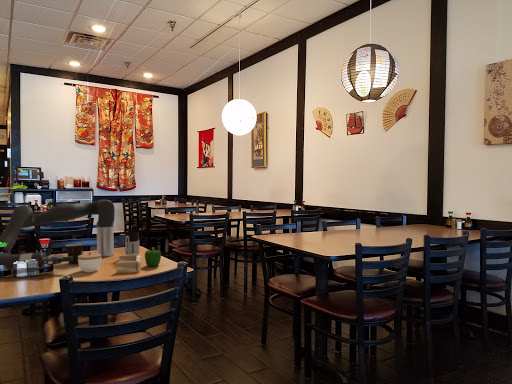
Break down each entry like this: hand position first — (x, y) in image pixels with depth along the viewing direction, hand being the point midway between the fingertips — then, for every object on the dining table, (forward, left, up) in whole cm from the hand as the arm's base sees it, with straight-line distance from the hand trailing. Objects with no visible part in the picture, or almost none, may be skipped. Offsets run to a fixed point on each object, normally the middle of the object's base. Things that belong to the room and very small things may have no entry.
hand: (72, 258), depth 184 cm
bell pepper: (-3, +38, -7) cm, 39 cm away
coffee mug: (-20, -3, -7) cm, 22 cm away
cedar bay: (-1, +26, -7) cm, 27 cm away
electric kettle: (-25, +26, -7) cm, 37 cm away
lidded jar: (0, +8, -7) cm, 10 cm away
